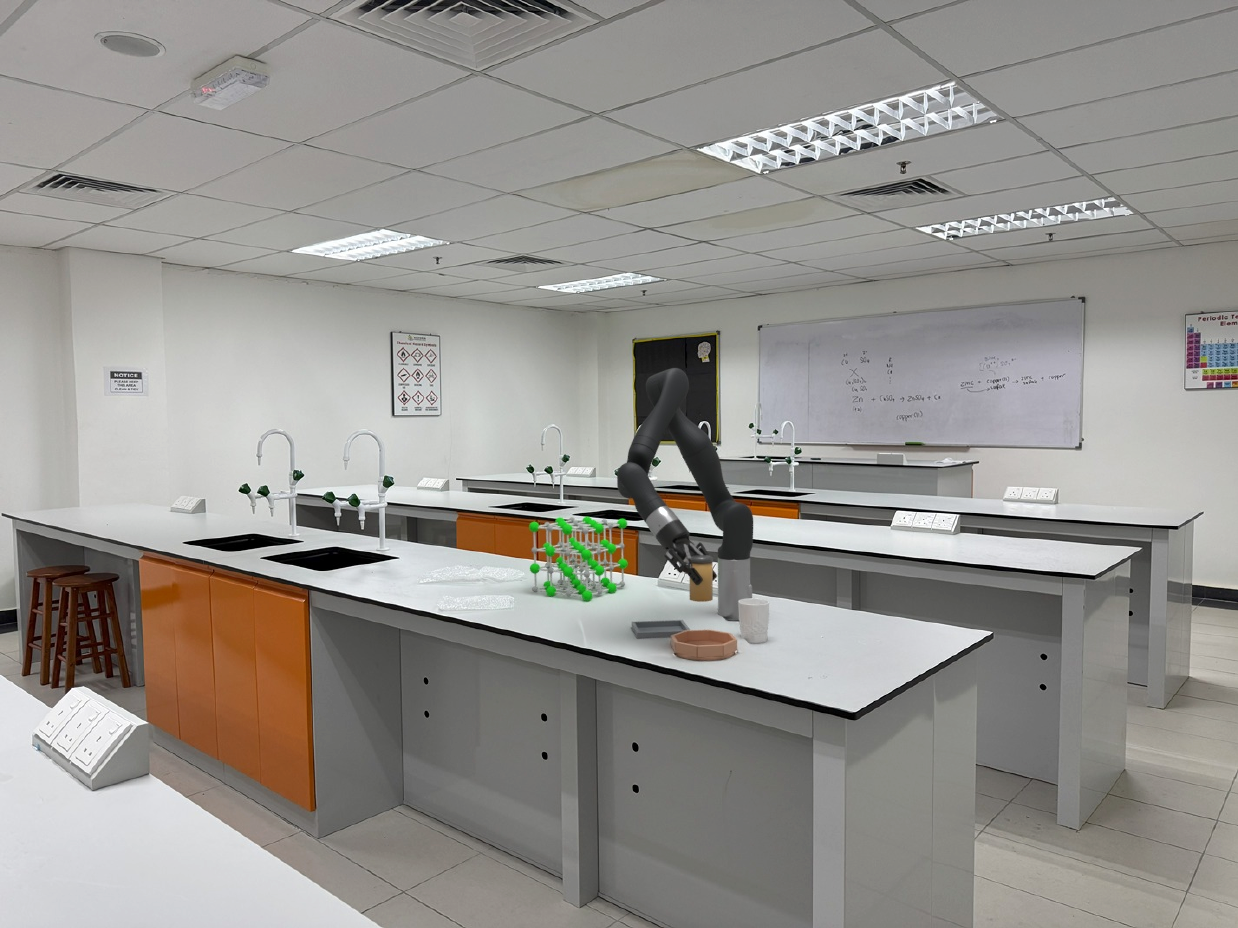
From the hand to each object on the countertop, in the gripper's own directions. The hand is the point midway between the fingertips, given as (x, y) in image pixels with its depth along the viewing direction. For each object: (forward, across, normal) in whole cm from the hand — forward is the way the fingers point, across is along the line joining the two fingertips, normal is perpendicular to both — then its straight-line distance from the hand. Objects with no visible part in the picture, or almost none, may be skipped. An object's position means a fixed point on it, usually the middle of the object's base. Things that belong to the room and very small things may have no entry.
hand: (707, 580), depth 199 cm
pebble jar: (+2, 0, +5) cm, 5 cm away
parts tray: (-1, +6, +26) cm, 27 cm away
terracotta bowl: (+12, 0, +13) cm, 18 cm away
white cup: (+15, +17, +11) cm, 25 cm away
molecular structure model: (-40, +36, +66) cm, 85 cm away
